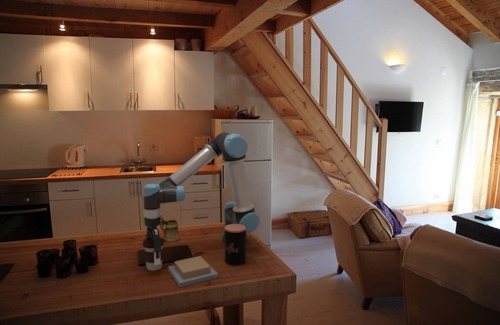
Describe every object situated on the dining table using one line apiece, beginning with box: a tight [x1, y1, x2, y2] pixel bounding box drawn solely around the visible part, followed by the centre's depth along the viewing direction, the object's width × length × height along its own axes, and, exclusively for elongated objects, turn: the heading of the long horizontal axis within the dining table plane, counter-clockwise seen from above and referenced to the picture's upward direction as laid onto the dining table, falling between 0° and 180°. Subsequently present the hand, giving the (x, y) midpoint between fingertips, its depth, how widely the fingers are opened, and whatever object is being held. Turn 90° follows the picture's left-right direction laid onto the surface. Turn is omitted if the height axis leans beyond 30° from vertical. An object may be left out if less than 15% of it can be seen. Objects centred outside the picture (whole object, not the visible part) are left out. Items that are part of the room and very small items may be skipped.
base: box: [167, 255, 219, 288], centre depth 162 cm, size 18×18×5 cm
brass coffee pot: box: [159, 214, 181, 243], centre depth 203 cm, size 9×14×18 cm, turn 103°
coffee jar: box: [224, 224, 247, 266], centre depth 176 cm, size 11×11×18 cm
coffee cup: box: [142, 237, 165, 271], centre depth 168 cm, size 10×10×15 cm
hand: (153, 258), depth 168 cm, fingers open, 13 cm apart
